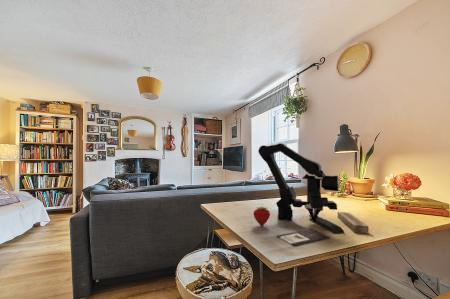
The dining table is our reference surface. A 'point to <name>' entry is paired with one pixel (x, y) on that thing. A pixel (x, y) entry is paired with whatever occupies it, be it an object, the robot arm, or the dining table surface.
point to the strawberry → (261, 215)
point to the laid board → (353, 222)
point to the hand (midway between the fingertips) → (313, 222)
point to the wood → (329, 225)
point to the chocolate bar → (303, 237)
